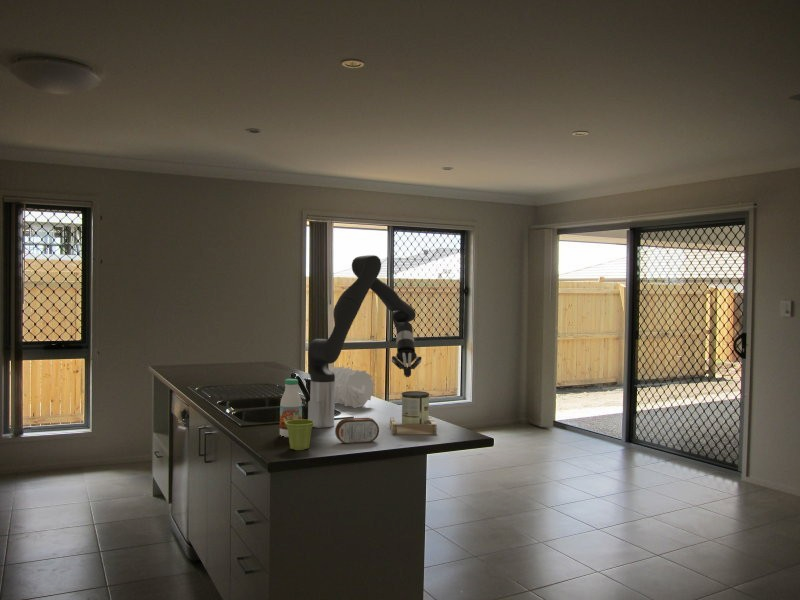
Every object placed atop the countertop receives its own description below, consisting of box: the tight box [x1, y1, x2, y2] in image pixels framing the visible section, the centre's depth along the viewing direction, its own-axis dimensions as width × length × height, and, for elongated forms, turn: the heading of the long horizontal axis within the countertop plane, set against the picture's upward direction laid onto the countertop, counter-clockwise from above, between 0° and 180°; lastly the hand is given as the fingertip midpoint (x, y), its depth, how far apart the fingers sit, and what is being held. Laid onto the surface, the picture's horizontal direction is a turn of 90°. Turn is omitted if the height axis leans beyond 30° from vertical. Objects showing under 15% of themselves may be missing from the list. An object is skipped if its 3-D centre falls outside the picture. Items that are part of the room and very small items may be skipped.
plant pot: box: [285, 418, 314, 451], centre depth 211 cm, size 9×9×9 cm
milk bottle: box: [279, 378, 303, 438], centre depth 231 cm, size 8×8×20 cm
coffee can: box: [401, 390, 430, 424], centre depth 243 cm, size 10×10×14 cm
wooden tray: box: [389, 417, 437, 435], centre depth 243 cm, size 14×16×4 cm
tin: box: [334, 417, 380, 445], centre depth 221 cm, size 15×3×8 cm, turn 109°
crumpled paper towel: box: [329, 365, 375, 409], centre depth 298 cm, size 18×18×25 cm
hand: (407, 375), depth 263 cm, fingers closed
